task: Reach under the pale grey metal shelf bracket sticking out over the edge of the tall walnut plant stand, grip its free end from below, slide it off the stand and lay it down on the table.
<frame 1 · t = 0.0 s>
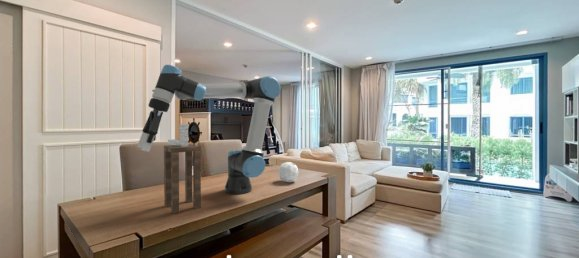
hand: (142, 149, 101), 28 cm above the table, tool tilted 20°, fingers open, 13 cm apart
shelf bracket: (177, 144, 119), point 28 cm above the table, touching plant stand
plant stand: (182, 206, 115), on the table
geodesic sphere: (288, 182, 163), on the table
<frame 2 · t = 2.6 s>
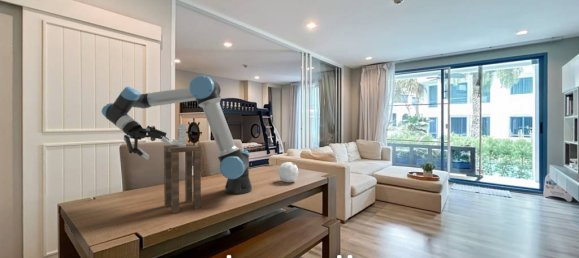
hand: (160, 151, 122), 24 cm above the table, tool tilted 55°, fingers open, 13 cm apart
shelf bracket: (178, 144, 120), point 28 cm above the table, touching gripper
everything else where it was.
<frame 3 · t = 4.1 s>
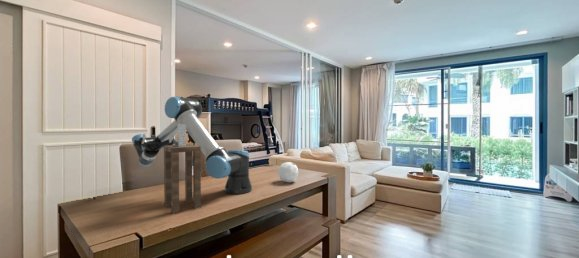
hand: (159, 135, 131), 32 cm above the table, tool pointing upward, fingers open, 13 cm apart
shelf bracket: (179, 144, 120), point 28 cm above the table, touching plant stand
everything else where it was.
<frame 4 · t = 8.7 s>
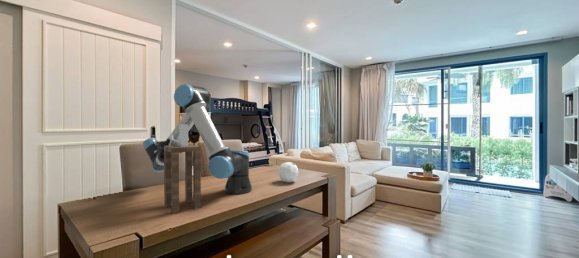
hand: (176, 137, 120), 32 cm above the table, tool pointing upward
shelf bracket: (177, 144, 119), point 28 cm above the table, touching gripper
everything else where it was.
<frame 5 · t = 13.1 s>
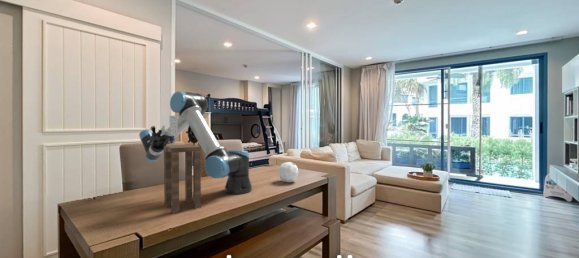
hand: (167, 127, 131), 36 cm above the table, tool pointing upward, fingers closed on shelf bracket, 3 cm apart
shelf bracket: (168, 135, 130), point 32 cm above the table, touching gripper
everything else where it was.
when the fingers open (11 cm above the table, at t = 17.5 s): shelf bracket drops 8 cm, on the table.
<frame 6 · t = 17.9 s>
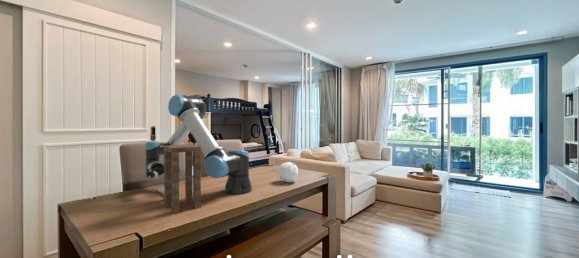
hand: (167, 174, 132), 11 cm above the table, tool horizontal, fingers open, 9 cm apart
shelf bracket: (167, 194, 133), on the table
everything else where it was.
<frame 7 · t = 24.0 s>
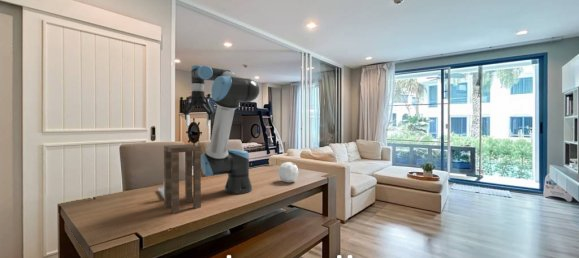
hand: (198, 125, 156), 37 cm above the table, tool pointing down, fingers open, 13 cm apart
shelf bracket: (164, 195, 133), on the table
everything else where it was.
at the end: shelf bracket inside the target area (1.8 cm from its centre), on the table; the gripper is holding nothing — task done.
